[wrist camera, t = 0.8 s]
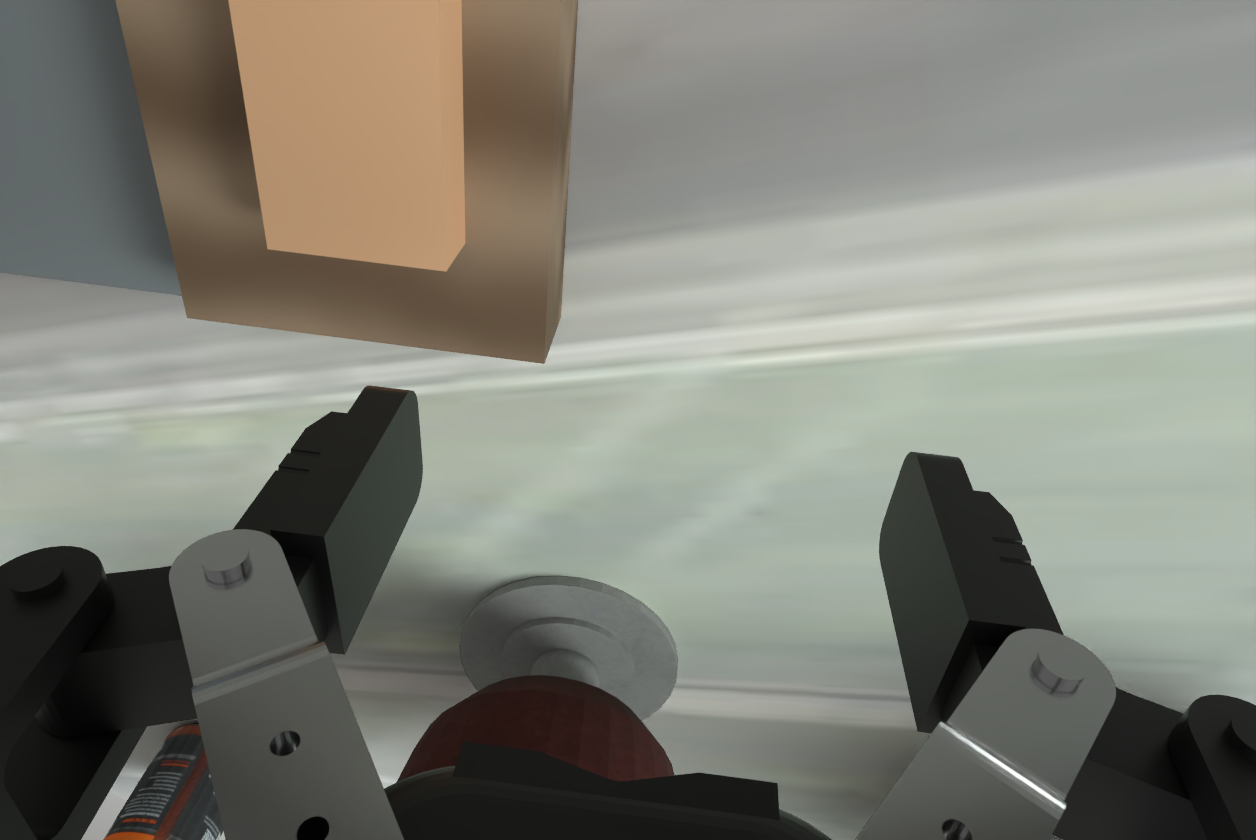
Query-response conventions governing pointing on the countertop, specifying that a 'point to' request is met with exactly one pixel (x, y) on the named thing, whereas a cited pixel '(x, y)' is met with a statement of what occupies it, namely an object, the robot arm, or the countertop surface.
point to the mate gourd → (560, 679)
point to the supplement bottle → (172, 795)
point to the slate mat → (76, 152)
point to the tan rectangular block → (356, 126)
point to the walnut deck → (350, 289)
